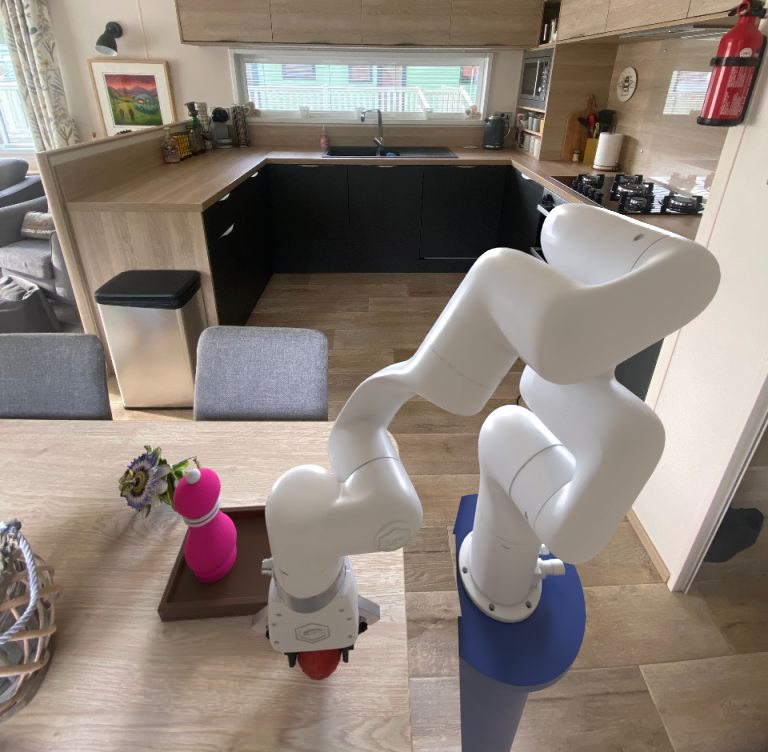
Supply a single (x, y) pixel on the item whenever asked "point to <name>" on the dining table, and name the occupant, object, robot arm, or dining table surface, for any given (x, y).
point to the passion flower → (151, 481)
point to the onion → (319, 662)
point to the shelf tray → (237, 588)
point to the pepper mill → (205, 525)
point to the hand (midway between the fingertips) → (320, 648)
